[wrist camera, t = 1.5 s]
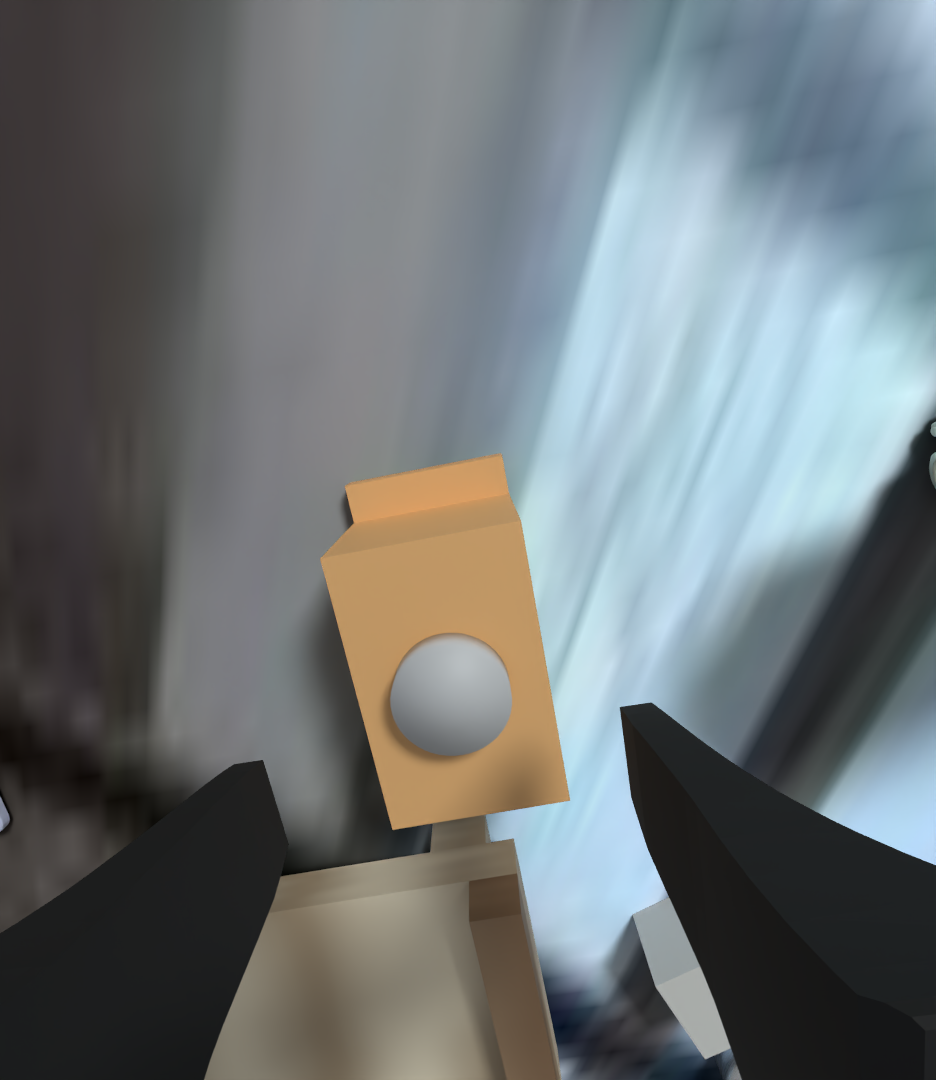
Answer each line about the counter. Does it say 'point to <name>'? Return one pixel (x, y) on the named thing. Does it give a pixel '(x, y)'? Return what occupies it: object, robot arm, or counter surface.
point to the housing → (446, 644)
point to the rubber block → (680, 976)
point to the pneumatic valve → (933, 459)
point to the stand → (396, 973)
